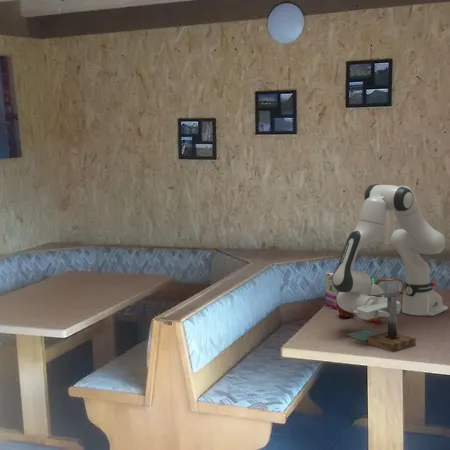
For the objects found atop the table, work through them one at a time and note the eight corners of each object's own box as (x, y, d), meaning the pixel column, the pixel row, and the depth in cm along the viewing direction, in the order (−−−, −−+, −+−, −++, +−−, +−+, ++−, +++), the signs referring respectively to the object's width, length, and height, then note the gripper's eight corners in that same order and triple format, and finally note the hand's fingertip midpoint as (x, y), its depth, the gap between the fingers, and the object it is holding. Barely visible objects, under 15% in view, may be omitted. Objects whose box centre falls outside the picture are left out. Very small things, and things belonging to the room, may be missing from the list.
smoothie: (360, 322, 298) (360, 278, 295) (370, 318, 304) (369, 275, 301) (377, 325, 292) (376, 281, 289) (386, 321, 298) (386, 277, 295)
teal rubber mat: (364, 330, 285) (364, 329, 285) (381, 336, 277) (381, 335, 277) (347, 335, 279) (347, 334, 279) (364, 341, 271) (364, 340, 271)
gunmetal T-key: (395, 332, 269) (394, 289, 266) (401, 334, 266) (401, 291, 263) (382, 335, 265) (382, 292, 262) (389, 338, 262) (389, 294, 259)
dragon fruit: (349, 315, 314) (346, 326, 303) (335, 305, 315) (331, 315, 304) (360, 302, 311) (357, 313, 300) (345, 292, 312) (341, 302, 301)
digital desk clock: (402, 292, 348) (402, 276, 347) (404, 294, 345) (404, 278, 344) (374, 294, 347) (374, 278, 346) (375, 295, 344) (375, 279, 343)
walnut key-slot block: (390, 337, 275) (390, 330, 274) (415, 345, 264) (415, 337, 263) (368, 344, 267) (368, 336, 267) (393, 352, 257) (393, 344, 256)
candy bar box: (346, 308, 321) (345, 275, 319) (337, 310, 319) (336, 276, 317) (333, 303, 331) (333, 271, 329) (325, 305, 329) (324, 272, 327)
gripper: (349, 304, 269) (375, 311, 257) (385, 294, 280) (410, 300, 268) (350, 319, 270) (375, 326, 258) (385, 309, 281) (411, 316, 269)
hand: (393, 313), depth 263 cm, fingers closed on gunmetal T-key, 4 cm apart
